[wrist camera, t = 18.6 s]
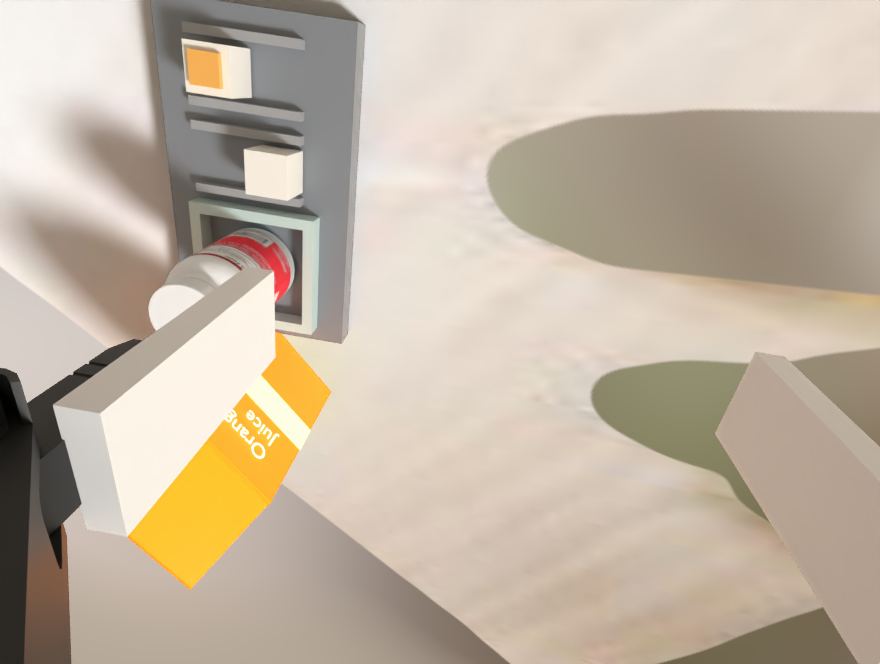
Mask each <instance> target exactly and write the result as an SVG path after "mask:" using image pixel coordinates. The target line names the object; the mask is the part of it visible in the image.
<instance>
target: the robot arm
mask: <svg viewBox="0 0 880 664" xmlns="http://www.w3.org/2000/svg"><path fill="white" fill-rule="evenodd" d="M275 357H276V353H275V301H274V271H272V270H266V269H260V268H254V267H248V266H246V267H245V268H244V269H242V270H241V271H239V272H238V273H237V274H235V275H234V276H232V277H231V278H230V279H228V280H227V281H225V282H224V283H223V284H221V285H220V286H218V287H217V288H216V289H214V290H213V291H211V292H210V293H209V294H207V295H206V296H204V297H203V298H202V299H200V300H199V301H197V302H196V303H195V304H193V305H192V306H190V307H189V308H188V309H186V310H185V311H183V312H182V313H181V314H179V315H178V316H176V317H175V318H174V319H172V320H171V321H169V322H168V323H167V324H165V325H164V326H162V327H161V328H160V329H158V330H157V331H155V332H154V333H153V334H151V335H150V336H148V337H147V338H146V339H144V340H143V341H141V340H136V339H133V340H130V341H127V342H125V343H122V344H119V345H117V346H114V347H111V348H109V349H107V350H106V351H104V352H103V353H101V354H100V355H98V356H97V357H95V358H94V359H92V360H91V361H89V364H85V365H83V366H82V367H80V368H79V369H77V370H76V371H74V373H73V375H68V376H67V377H65V378H64V379H62V380H61V381H59V382H58V383H57V384H55V385H53V386H52V387H50V388H49V389H47V390H46V391H45V392H43V393H42V394H40V395H39V396H37V397H36V398H34V399H33V400H31V401H30V402H28V403H27V402H26V399H25V396H24V392H23V389H22V385H21V382H20V380H19V377H18V375H17V373H14V372H12V371H10V370H8V369H4V368H0V664H71V643H70V616H69V615H70V614H69V588H68V560H67V559H68V558H67V535H66V532H65V528H64V525H63V522H64V521H65V520H66V519H67V518H68V517H69V516H70V515H71V514H72V513H73V512H74V511H75V510H76V509H77V508H78V507H79V506H80V507H81V511H82V515H83V518H84V522H85V526H86V529H88V530H94V531H99V532H104V533H110V534H115V535H120V536H126V537H128V535H129V534H130V533H131V532H132V531H133V529H134V528H135V527H136V526H137V524H138V523H139V522H140V521H141V520H142V518H143V517H144V516H145V515H146V514H147V512H148V511H149V510H150V509H151V508H152V506H153V505H154V504H155V503H156V501H157V500H158V499H159V498H160V497H161V495H162V494H163V493H164V492H165V491H166V489H167V488H168V487H169V486H170V484H171V483H172V482H173V481H174V480H175V478H176V477H177V476H178V475H179V474H180V472H181V471H182V470H183V469H184V467H185V466H186V465H187V464H188V463H189V461H190V460H191V459H192V458H193V457H194V455H195V454H196V453H197V452H198V450H199V449H200V448H201V447H202V446H203V444H204V443H205V442H206V441H207V440H208V438H209V437H210V436H211V435H212V434H213V432H214V431H215V430H216V429H217V427H218V426H219V425H220V424H221V423H222V421H223V420H224V419H225V418H226V417H227V415H228V414H229V413H230V412H231V410H232V409H233V408H234V407H235V406H236V404H237V403H238V402H239V401H240V400H241V398H242V397H243V396H244V395H245V393H246V392H247V391H248V390H249V389H250V387H251V386H252V385H253V384H254V383H255V381H256V380H257V379H258V378H259V376H260V375H261V374H262V373H263V372H264V370H265V369H266V368H267V367H268V366H269V364H270V363H271V362H272V361H273V360H274V358H275ZM715 434H716V436H717V438H718V439H719V441H720V442H721V444H722V446H723V447H724V449H725V450H726V452H727V454H728V455H729V457H730V458H731V460H732V462H733V463H734V465H735V466H736V468H737V469H738V471H739V473H740V475H741V476H742V478H743V479H744V481H745V483H746V484H747V486H748V487H749V489H750V491H751V492H752V494H753V495H754V497H755V499H756V500H757V502H758V503H759V505H760V507H761V508H762V510H763V511H764V513H765V514H766V516H767V518H768V519H769V521H770V523H771V524H772V526H773V527H774V529H775V531H776V532H777V534H778V536H779V537H780V539H781V540H782V542H783V544H784V545H785V547H786V548H787V550H788V552H789V553H790V555H791V556H792V558H793V560H794V561H795V563H796V564H797V566H798V568H799V569H800V571H801V572H802V574H803V576H804V577H805V579H806V580H807V582H808V584H809V585H810V587H811V588H812V590H813V592H814V593H815V595H816V597H817V598H818V600H819V601H820V603H821V605H822V606H823V608H824V609H825V611H826V613H827V614H828V616H829V617H830V619H831V620H832V622H833V624H834V625H835V627H836V629H837V630H838V632H839V633H840V635H841V637H842V638H843V640H844V641H845V643H846V645H847V646H848V648H849V649H850V651H851V653H852V654H853V656H854V657H855V659H856V661H857V662H858V664H880V447H879V446H878V445H877V444H876V443H875V442H874V441H873V440H872V439H871V438H870V437H869V436H868V435H866V434H865V433H864V432H863V431H862V430H861V429H860V428H859V427H858V426H857V425H856V424H855V423H854V422H853V421H852V420H850V418H848V417H847V416H846V415H845V414H844V413H843V412H842V411H841V410H840V409H839V408H838V407H837V406H836V405H835V404H834V403H833V402H831V400H829V399H828V398H827V397H826V396H825V395H824V394H823V393H822V392H821V391H820V390H819V389H818V388H817V387H816V386H815V385H814V384H813V383H811V382H810V381H809V380H808V379H807V378H806V377H805V376H804V375H803V374H802V373H801V372H800V371H799V370H798V369H797V368H796V367H795V366H794V365H792V364H791V363H790V362H789V361H788V360H787V359H786V358H785V357H783V356H777V355H771V354H765V353H759V352H755V353H754V356H753V358H752V360H751V362H750V364H749V366H748V368H747V370H746V372H745V374H744V376H743V378H742V380H741V382H740V384H739V386H738V388H737V390H736V392H735V394H734V396H733V398H732V400H731V402H730V404H729V406H728V408H727V410H726V412H725V414H724V417H723V419H722V421H721V422H720V425H719V427H718V429H717V431H716V433H715Z"/></svg>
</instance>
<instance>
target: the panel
mask: <svg viewBox="0 0 880 664" xmlns="http://www.w3.org/2000/svg"><path fill="white" fill-rule="evenodd" d="M150 1H151V10H152V19H153V28H154V37H155V46H156V55H157V64H158V73H159V82H160V91H161V100H162V109H163V118H164V127H165V136H166V145H167V154H168V163H169V172H170V181H171V190H172V199H173V208H174V217H175V226H176V235H177V244H178V253H179V262H181V261H182V260H184V259H186V258H188V257H190V256H192V255H193V254H195V253H197V252H199V251H201V250H203V249H204V248H206V247H208V246H210V245H212V244H213V243H215V242H217V241H219V240H221V239H222V238H224V237H226V236H228V235H229V234H231V233H233V232H235V231H237V230H240V229H244V228H258V229H263V230H266V231H268V232H270V233H272V234H274V235H275V236H277V237H278V238H279V239H280V240H281V241H282V242H283V243H284V244H285V245H286V246H287V248H288V249H289V251H290V253H291V255H292V257H293V261H294V265H295V275H294V280H293V283H292V285H291V287H290V288H289V289H288V291H287V292H286V293H285V294H284V295H283V296H282V297H281V298H280V299H279V300H278V301H277V302H276V303H275V332H276V333H282V334H288V335H294V336H300V337H305V338H311V339H317V340H323V341H329V342H334V343H340V344H342V342H343V341H344V339H345V337H346V336H347V334H348V321H349V304H350V286H351V269H352V251H353V234H354V216H355V198H356V181H357V163H358V146H359V128H360V111H361V93H362V75H363V58H364V40H365V25H364V24H362V23H360V22H358V21H351V20H344V19H338V18H331V17H324V16H318V15H311V14H304V13H298V12H291V11H284V10H278V9H271V8H264V7H258V6H251V5H244V4H238V3H231V2H224V1H218V0H150ZM181 38H182V39H189V40H196V41H202V42H209V43H215V44H222V45H228V46H235V47H241V48H248V49H250V59H251V88H252V98H236V99H230V98H223V97H217V96H211V95H204V94H198V93H192V92H186V84H185V73H184V62H183V51H182V39H181ZM258 145H269V146H276V147H282V148H288V149H294V150H301V151H303V193H301V194H299V195H297V196H296V197H294V198H292V199H290V200H288V201H285V200H279V199H273V198H267V197H261V196H255V195H248V194H246V189H245V167H244V149H246V148H250V147H254V146H258Z"/></svg>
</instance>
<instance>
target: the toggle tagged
mask: <svg viewBox="0 0 880 664" xmlns="http://www.w3.org/2000/svg"><path fill="white" fill-rule="evenodd" d="M181 39H182V38H181ZM182 51H183V62H184V73H185V84H186V92H192V93H198V94H204V95H211V96H217V97H223V98H230V99H236V98H252V88H251V59H250V49H248V48H241V47H235V46H228V45H222V44H215V43H209V42H202V41H196V40H189V39H182Z"/></svg>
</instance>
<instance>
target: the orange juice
mask: <svg viewBox="0 0 880 664" xmlns="http://www.w3.org/2000/svg"><path fill="white" fill-rule="evenodd" d="M275 353H276V357H275V358H274V360H273V361H272V362H271V363H270V364H269V366H268V367H267V368H266V369H265V370H264V372H263V373H262V374H261V375H260V376H259V378H258V379H257V380H256V381H255V383H254V384H253V385H252V386H251V387H250V389H249V390H248V391H247V392H246V393H245V395H244V396H243V397H242V398H241V400H240V401H239V402H238V403H237V404H236V406H235V407H234V408H233V409H232V410H231V412H230V413H229V414H228V415H227V417H226V418H225V419H224V420H223V421H222V423H221V424H220V425H219V426H218V427H217V429H216V430H215V431H214V432H213V434H212V435H211V436H210V437H209V438H208V440H207V441H206V442H205V443H204V444H203V446H202V447H201V448H200V449H199V450H198V452H197V453H196V454H195V455H194V457H193V458H192V459H191V460H190V461H189V463H188V464H187V465H186V466H185V467H184V469H183V470H182V471H181V472H180V474H179V475H178V476H177V477H176V478H175V480H174V481H173V482H172V483H171V484H170V486H169V487H168V488H167V489H166V491H165V492H164V493H163V494H162V495H161V497H160V498H159V499H158V500H157V501H156V503H155V504H154V505H153V506H152V508H151V509H150V510H149V511H148V512H147V514H146V515H145V516H144V517H143V518H142V520H141V521H140V522H139V523H138V524H137V526H136V527H135V528H134V529H133V531H132V532H131V533H130V534H129V535H128V538H129V539H130V540H131V541H133V542H134V543H135V544H136V545H137V546H139V547H140V548H141V549H142V550H143V551H144V552H146V553H147V554H148V555H150V557H152V558H153V559H154V560H155V561H156V562H158V563H159V564H160V565H161V566H162V567H164V568H165V569H166V570H167V571H168V572H170V573H171V574H172V575H173V576H174V577H176V578H177V579H178V580H179V581H180V582H181V583H183V584H184V585H185V586H186V587H187V588H188V589H190V590H191V588H192V587H193V586H194V585H195V584H196V582H197V581H198V580H199V579H200V578H201V577H202V576H203V575H204V574H205V573H206V572H207V570H208V569H209V568H210V567H211V566H212V565H213V564H214V563H215V562H216V561H217V560H218V558H219V557H220V556H221V555H222V554H223V553H224V552H225V551H226V550H227V549H228V548H229V547H230V545H231V544H232V543H233V542H234V541H235V540H236V539H237V538H238V536H239V535H240V534H241V533H242V532H243V531H244V530H245V529H246V528H247V527H248V526H249V525H250V523H251V522H252V521H253V520H254V519H255V518H256V517H257V516H258V515H259V514H260V513H261V511H262V510H263V509H264V508H265V507H267V506H269V504H270V502H271V501H272V499H273V497H274V495H275V493H276V492H277V490H278V488H279V486H280V484H281V483H282V481H283V479H284V477H285V475H286V473H287V472H288V470H289V468H290V466H291V464H292V463H293V461H294V459H295V457H296V455H297V453H298V452H299V450H300V449H301V448H302V446H303V444H304V442H305V440H306V438H307V437H308V435H309V433H310V431H311V428H312V426H313V424H314V422H315V421H316V419H317V417H318V415H319V413H320V412H321V410H322V408H323V406H324V404H325V402H326V401H327V399H328V397H329V395H330V393H331V391H330V390H329V389H328V387H327V386H326V385H325V384H324V383H323V382H322V380H321V379H320V378H319V377H318V376H317V375H316V374H315V372H314V371H313V370H312V369H311V368H310V367H309V365H308V364H307V363H306V362H305V361H304V360H303V358H302V357H301V356H300V355H299V354H298V353H297V351H296V350H295V349H294V348H293V347H292V346H291V344H290V343H289V342H288V341H287V340H286V339H285V337H284V336H283V335H282V334H281V333H276V332H275Z"/></svg>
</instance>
